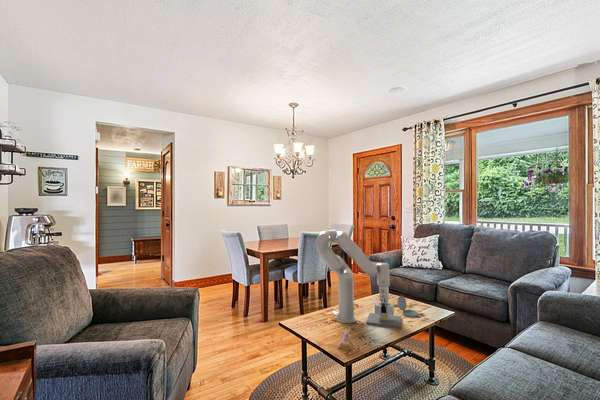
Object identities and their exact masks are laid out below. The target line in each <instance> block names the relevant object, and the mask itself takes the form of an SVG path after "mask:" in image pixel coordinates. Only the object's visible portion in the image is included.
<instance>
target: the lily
mask: <svg viewBox="0 0 600 400" xmlns="http://www.w3.org/2000/svg"><path fill="white" fill-rule="evenodd" d="M351 328H352V327H351V326H350V327H349V329H348V330H345V331H344V332H343V334H342V335H341V337H342V339H341V340H340V342H339V343H338V345H337V347H336V348H338V347H339V346H340V345H341V343H342V344H345V342H349V343H350V345H351V346H352V347H354V345H353V344H352V342H351V341H350V340H349V332H350V331H351Z"/></svg>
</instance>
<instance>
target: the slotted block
mask: <svg viewBox="0 0 600 400" xmlns="http://www.w3.org/2000/svg"><path fill="white" fill-rule="evenodd" d="M374 303H375V304H374V313H376V314H385V315H393V316H394V313H395V310H394V309H395V308H394V307H395V305H394V303H392V302H388V303H387V302H386V313H381V302H380V301H375V302H374Z"/></svg>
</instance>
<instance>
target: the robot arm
mask: <svg viewBox="0 0 600 400" xmlns="http://www.w3.org/2000/svg"><path fill="white" fill-rule="evenodd" d="M329 244H337V245H338V246H339V247H340V248H341V249H342V250H343V252H345V253H346V254H347V255H348V256H349V257H350V259H352V261H354V263H355V264H356V265H357V266H358V267H359V268H360V269H361V270H362V272H363V273H365V275H366V276H368V277H370V278H371V277H372V278H373V277H376V276H377V278H376V281H377V286H378V287H379V288H378V289H379V292H378V293H379V302H381V313H386V303H389V302H390V295H389V291H390V289H389V287H390V286H391V284H390V281H391V280H390V265H389V263H387V262H375V261H371V260H370V259H369V258H368V257H367V255H365V253H364V252H363V250H362V248H361V247H360V246H359V245H358V244H357V243H355V242H354V240H353V239H352V238H351V237H350V236H349V234H348V233H347V232H345V231H341V230H339V231H337V230H322V231H320V232H319V233H318V235H317V236H316V240H315V249H316V252H317V254H318V255H319V256H320V258H321V259H322V260H323V262H324V263H325V264H326V265H327V267H328V268H329V270H330V271H332V272H334V273H335V274H336V275H337V276H338V277H337V284H338V311H333V310H332V315H333V317H334V316H335V317H336V320H337V322H339V323H341V324H353V323H355V322H356V321H357V317H356V316H355V310H354V309H355V307H354V305H355V304H354V303H355V302H354V301H355V300H354V299H355V298H354V273H353V270H352V269H351V267H349V265H348V264H347V263H346V262H345V260H344V259H343V258H342V257H341V256H340V255H338V254H335V252H334V250H333V249H332V248H331V247H330V245H329Z"/></svg>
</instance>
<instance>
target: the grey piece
mask: <svg viewBox="0 0 600 400" xmlns="http://www.w3.org/2000/svg"><path fill="white" fill-rule="evenodd" d="M365 324H366V325H367V326H374V327H375V326H377V327H384V328H389V329H390V328H391V329H399V330H400V329H401V327H402V316H401V315H400V316H399V315H394V314H393V315H385V314H376V313H375V312H369V314H368V316H367V319H366V322H365Z"/></svg>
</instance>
